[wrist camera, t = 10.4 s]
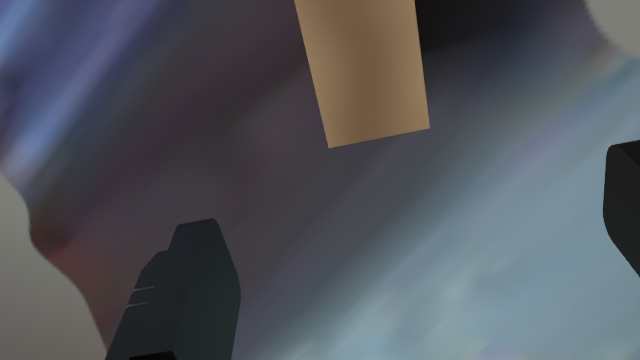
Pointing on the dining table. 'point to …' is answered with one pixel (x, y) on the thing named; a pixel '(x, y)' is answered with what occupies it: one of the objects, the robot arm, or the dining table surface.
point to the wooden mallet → (365, 67)
